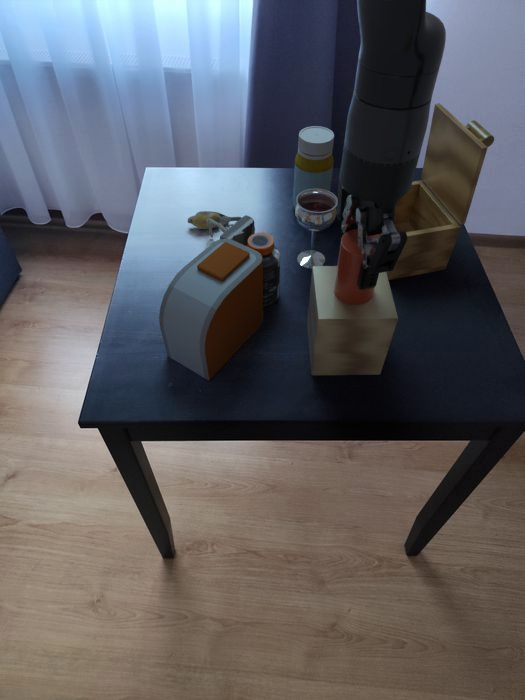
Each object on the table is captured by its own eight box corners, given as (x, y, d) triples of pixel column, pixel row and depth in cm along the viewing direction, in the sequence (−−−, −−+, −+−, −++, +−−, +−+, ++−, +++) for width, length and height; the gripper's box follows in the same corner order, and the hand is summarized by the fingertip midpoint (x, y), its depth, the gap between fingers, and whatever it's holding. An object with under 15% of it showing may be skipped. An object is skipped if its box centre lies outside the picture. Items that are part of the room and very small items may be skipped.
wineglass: (303, 276, 82) (307, 217, 73) (285, 252, 86) (288, 194, 77) (337, 265, 84) (346, 206, 74) (318, 243, 88) (325, 184, 78)
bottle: (334, 212, 94) (344, 138, 82) (305, 223, 91) (310, 148, 80) (314, 194, 97) (321, 121, 86) (285, 205, 95) (288, 131, 84)
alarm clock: (226, 297, 79) (220, 229, 68) (268, 318, 76) (268, 251, 65) (165, 354, 71) (147, 288, 61) (209, 381, 68) (199, 316, 58)
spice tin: (378, 284, 63) (390, 235, 57) (366, 310, 60) (377, 261, 54) (341, 273, 65) (349, 224, 59) (327, 297, 62) (334, 248, 56)
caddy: (381, 281, 81) (392, 238, 74) (351, 232, 90) (358, 189, 83) (445, 269, 83) (461, 226, 76) (410, 222, 91) (422, 179, 84)
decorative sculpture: (186, 227, 91) (181, 193, 85) (231, 211, 94) (228, 177, 88) (226, 276, 82) (223, 241, 76) (274, 257, 85) (274, 222, 79)
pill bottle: (284, 288, 80) (287, 233, 71) (270, 312, 77) (271, 257, 68) (253, 278, 82) (251, 223, 73) (237, 301, 78) (233, 246, 70)
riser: (369, 323, 75) (384, 265, 66) (380, 374, 69) (398, 318, 59) (306, 324, 75) (312, 265, 66) (311, 375, 69) (318, 319, 59)
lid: (482, 148, 65) (516, 140, 66) (434, 103, 74) (465, 97, 74) (460, 225, 76) (490, 217, 76) (420, 178, 84) (447, 171, 84)
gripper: (453, 174, 43) (409, 305, 56) (388, 104, 52) (363, 232, 65) (376, 185, 42) (349, 317, 55) (323, 112, 51) (311, 241, 64)
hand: (357, 270), depth 60 cm, fingers closed on spice tin, 5 cm apart
